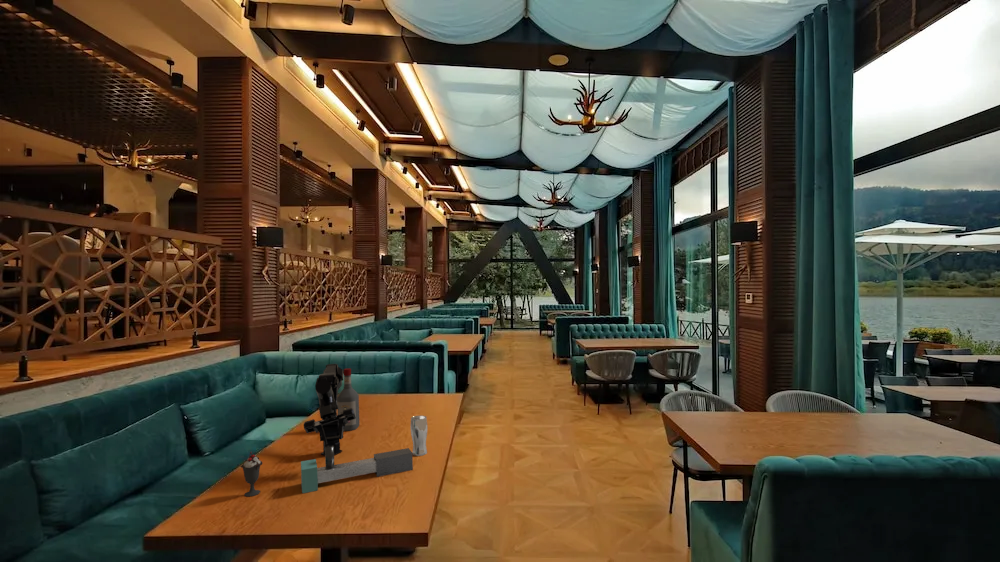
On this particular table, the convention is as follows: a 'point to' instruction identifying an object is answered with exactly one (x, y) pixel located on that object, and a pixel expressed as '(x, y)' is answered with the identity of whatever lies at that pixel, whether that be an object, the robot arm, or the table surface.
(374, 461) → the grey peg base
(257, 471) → the sundae
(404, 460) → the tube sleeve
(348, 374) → the liquor
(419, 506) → the table surface
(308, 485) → the socket block
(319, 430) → the robot arm
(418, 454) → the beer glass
